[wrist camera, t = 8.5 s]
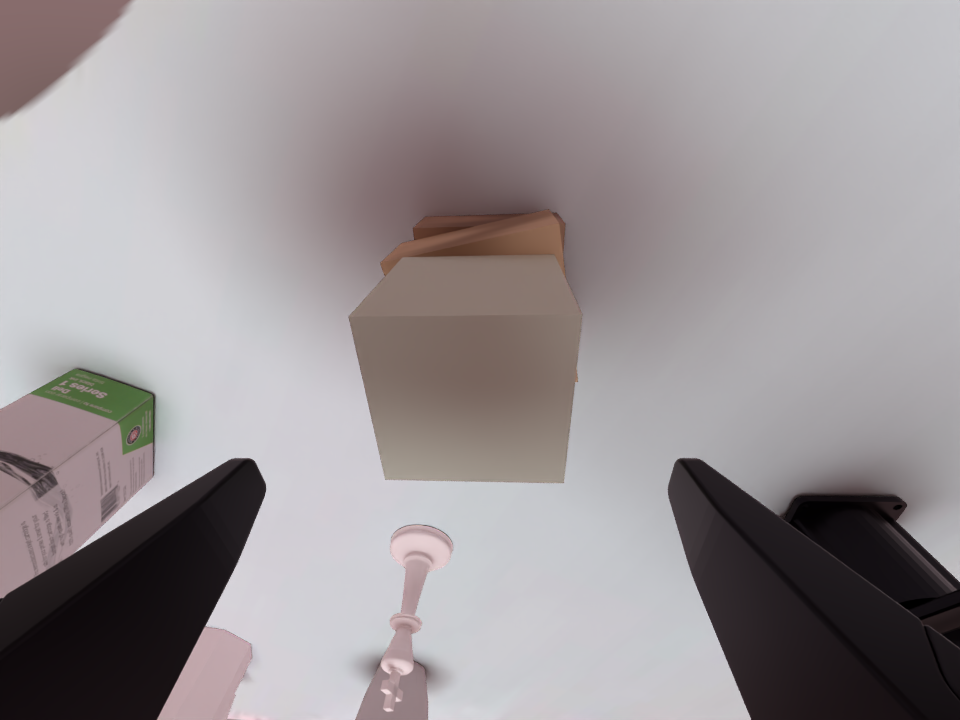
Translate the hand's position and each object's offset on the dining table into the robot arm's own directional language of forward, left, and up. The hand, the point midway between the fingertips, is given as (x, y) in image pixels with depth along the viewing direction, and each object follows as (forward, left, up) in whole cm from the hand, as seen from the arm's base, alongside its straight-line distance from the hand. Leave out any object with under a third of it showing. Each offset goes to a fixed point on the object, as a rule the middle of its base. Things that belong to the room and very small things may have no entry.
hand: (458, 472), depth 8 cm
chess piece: (+6, +21, -13) cm, 25 cm away
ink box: (+25, +9, -13) cm, 29 cm away
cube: (0, 0, -7) cm, 7 cm away
